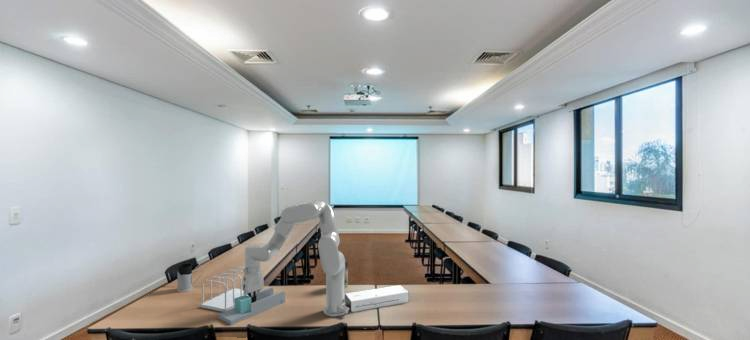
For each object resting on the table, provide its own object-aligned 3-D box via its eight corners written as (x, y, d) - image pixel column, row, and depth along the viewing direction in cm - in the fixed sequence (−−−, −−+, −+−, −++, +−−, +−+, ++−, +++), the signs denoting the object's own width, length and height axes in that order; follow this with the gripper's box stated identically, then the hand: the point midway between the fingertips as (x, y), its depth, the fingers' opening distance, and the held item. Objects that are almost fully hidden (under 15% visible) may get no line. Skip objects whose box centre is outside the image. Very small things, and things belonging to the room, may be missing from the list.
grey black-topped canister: (177, 288, 205) (176, 264, 204) (203, 284, 211) (202, 261, 211) (176, 293, 197) (176, 268, 197) (203, 289, 204) (202, 265, 203)
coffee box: (338, 291, 198) (338, 265, 198) (330, 289, 202) (330, 263, 202) (348, 287, 206) (348, 261, 205) (340, 284, 210) (340, 259, 209)
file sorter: (225, 313, 171) (224, 283, 171) (200, 308, 177) (199, 279, 177) (257, 294, 195) (257, 268, 194) (234, 290, 201) (234, 265, 200)
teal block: (251, 309, 171) (251, 297, 171) (240, 313, 166) (240, 301, 166) (245, 305, 174) (245, 294, 174) (234, 310, 170) (234, 298, 170)
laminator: (350, 313, 171) (350, 301, 171) (344, 303, 182) (344, 292, 182) (408, 302, 183) (408, 291, 183) (399, 294, 195) (399, 284, 195)
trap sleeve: (285, 302, 184) (284, 291, 184) (231, 325, 158) (230, 312, 158) (271, 296, 191) (271, 286, 191) (218, 318, 165) (217, 306, 165)
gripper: (243, 274, 166) (244, 310, 166) (269, 266, 178) (269, 300, 178) (235, 271, 171) (236, 306, 171) (261, 264, 182) (261, 296, 183)
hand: (253, 303), depth 175 cm, fingers closed
